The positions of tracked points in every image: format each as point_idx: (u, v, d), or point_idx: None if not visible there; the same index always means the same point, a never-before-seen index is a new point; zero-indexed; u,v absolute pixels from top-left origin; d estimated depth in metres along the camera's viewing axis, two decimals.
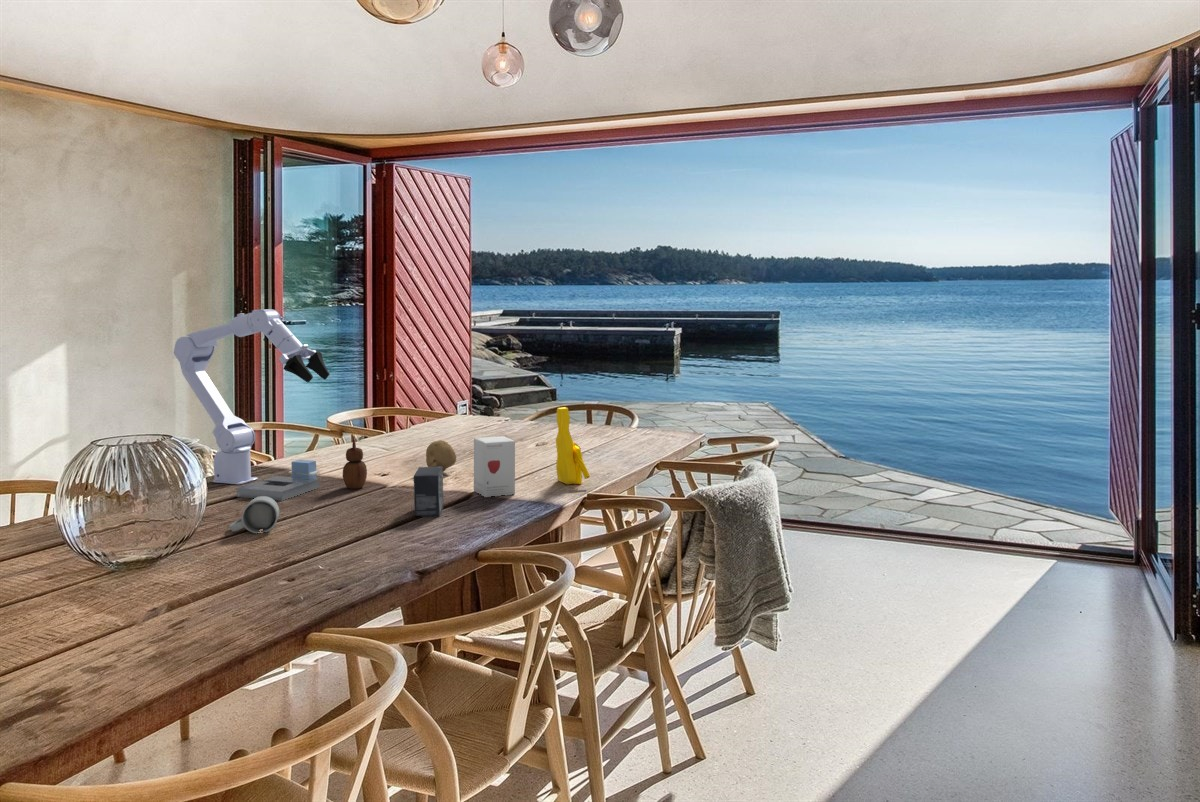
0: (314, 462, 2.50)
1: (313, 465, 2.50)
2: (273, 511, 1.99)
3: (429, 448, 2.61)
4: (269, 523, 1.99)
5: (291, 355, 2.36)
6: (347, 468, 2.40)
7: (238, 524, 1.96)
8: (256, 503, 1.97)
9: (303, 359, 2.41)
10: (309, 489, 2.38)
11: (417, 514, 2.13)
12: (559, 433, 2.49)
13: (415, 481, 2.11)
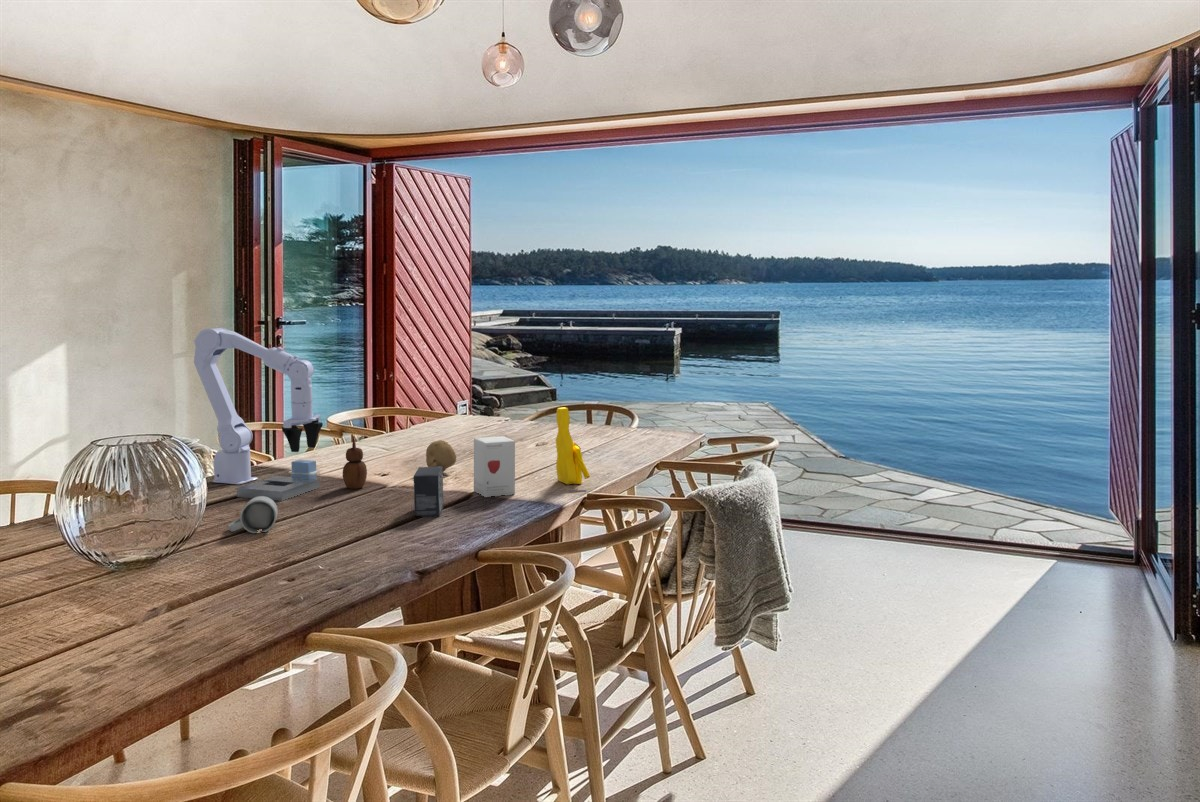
0: (314, 462, 2.50)
1: (313, 465, 2.50)
2: (272, 511, 1.99)
3: (429, 448, 2.61)
4: (268, 523, 1.98)
5: (296, 422, 2.44)
6: (347, 468, 2.40)
7: (236, 524, 1.96)
8: (255, 503, 1.97)
9: (304, 423, 2.50)
10: (309, 489, 2.38)
11: (417, 514, 2.13)
12: (559, 433, 2.49)
13: (415, 481, 2.11)
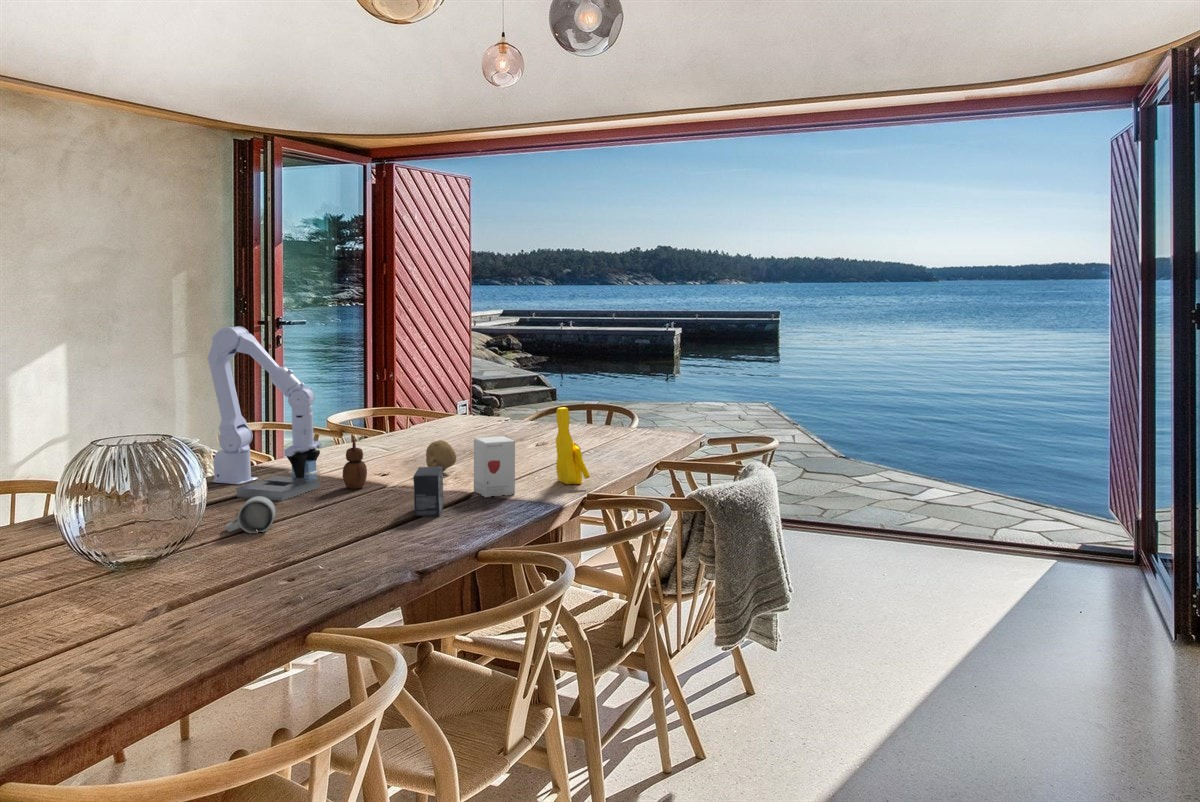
0: (314, 462, 2.50)
1: (313, 465, 2.50)
2: (269, 511, 1.99)
3: (429, 448, 2.61)
4: (265, 523, 1.98)
5: (297, 450, 2.45)
6: (347, 468, 2.40)
7: (234, 524, 1.96)
8: (252, 503, 1.97)
9: (305, 450, 2.51)
10: (309, 489, 2.38)
11: (417, 514, 2.13)
12: (559, 433, 2.49)
13: (415, 481, 2.11)
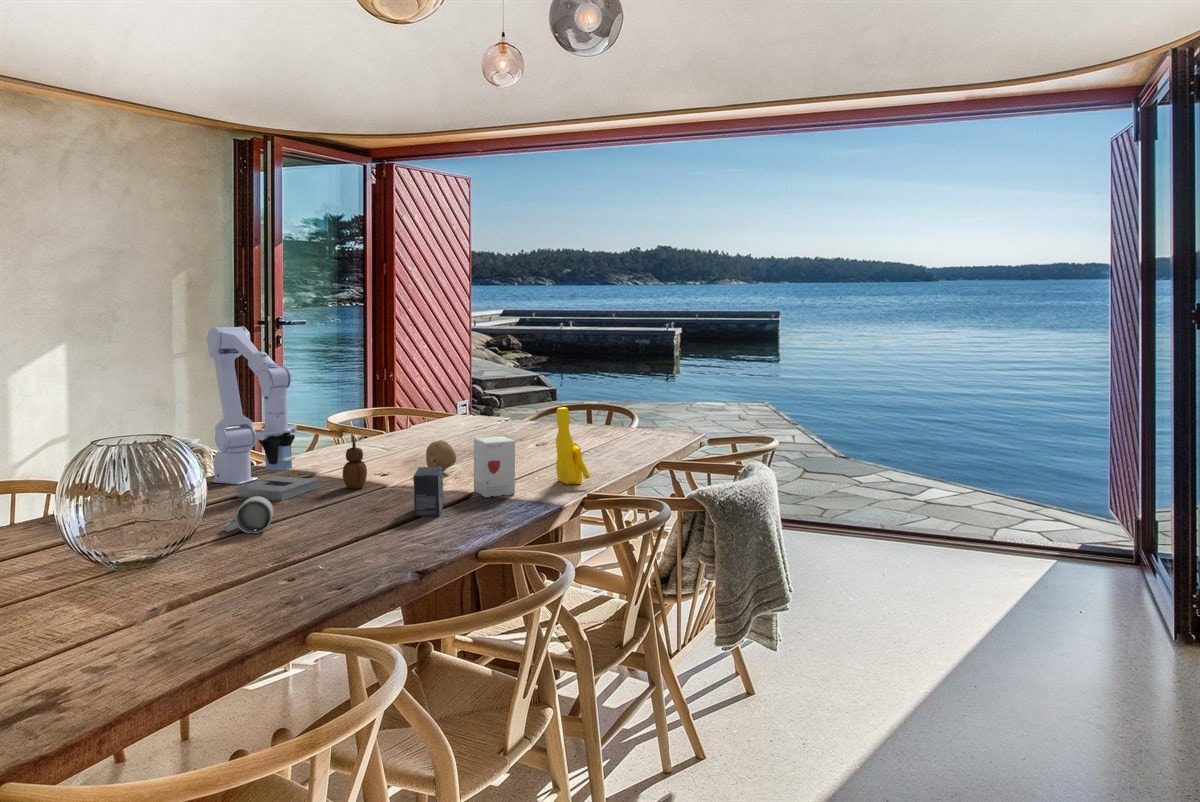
0: (289, 447, 2.35)
1: (288, 450, 2.35)
2: (267, 511, 1.99)
3: (429, 448, 2.61)
4: (263, 523, 1.98)
5: None
6: (347, 468, 2.40)
7: (232, 524, 1.96)
8: (250, 503, 1.97)
9: None
10: (309, 489, 2.38)
11: (417, 514, 2.13)
12: (559, 433, 2.49)
13: (415, 481, 2.11)
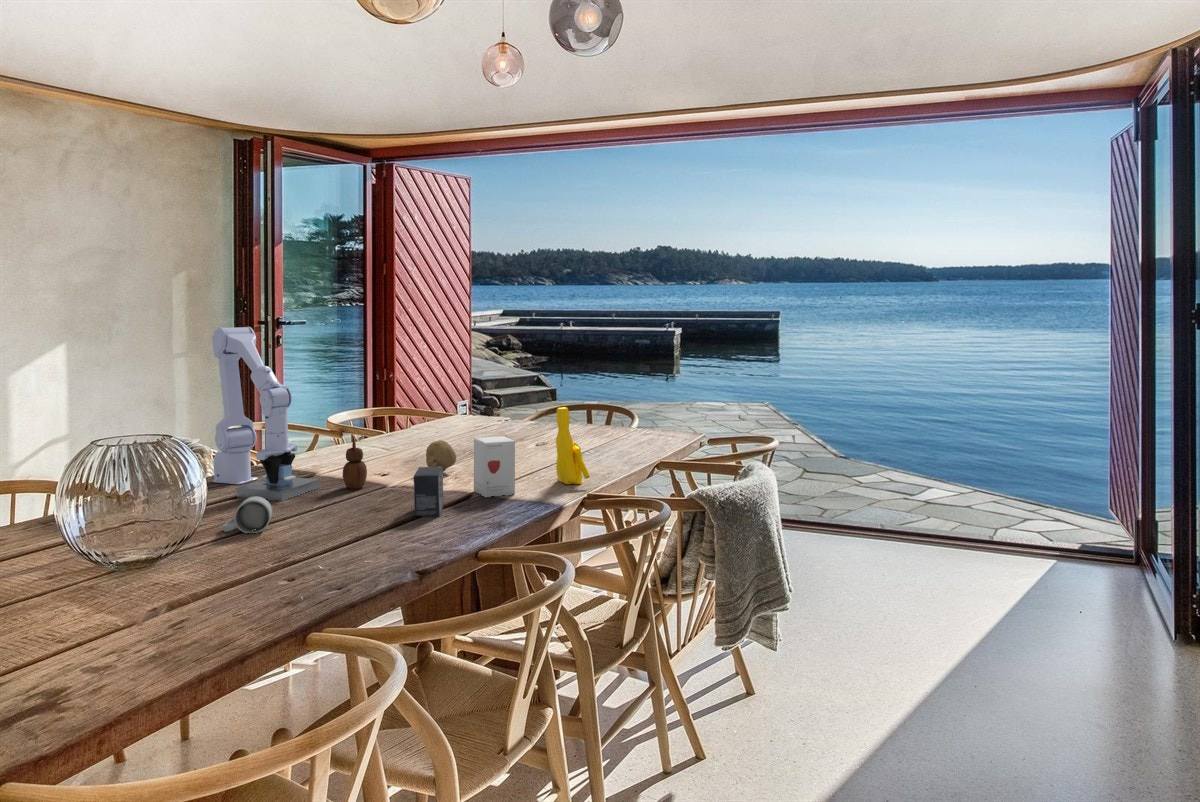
0: (290, 466, 2.36)
1: (289, 470, 2.36)
2: (266, 511, 1.99)
3: (429, 448, 2.61)
4: (262, 523, 1.98)
5: (270, 453, 2.31)
6: (347, 468, 2.40)
7: (231, 524, 1.96)
8: (249, 503, 1.97)
9: None
10: (309, 489, 2.38)
11: (417, 514, 2.13)
12: (559, 433, 2.49)
13: (415, 481, 2.11)
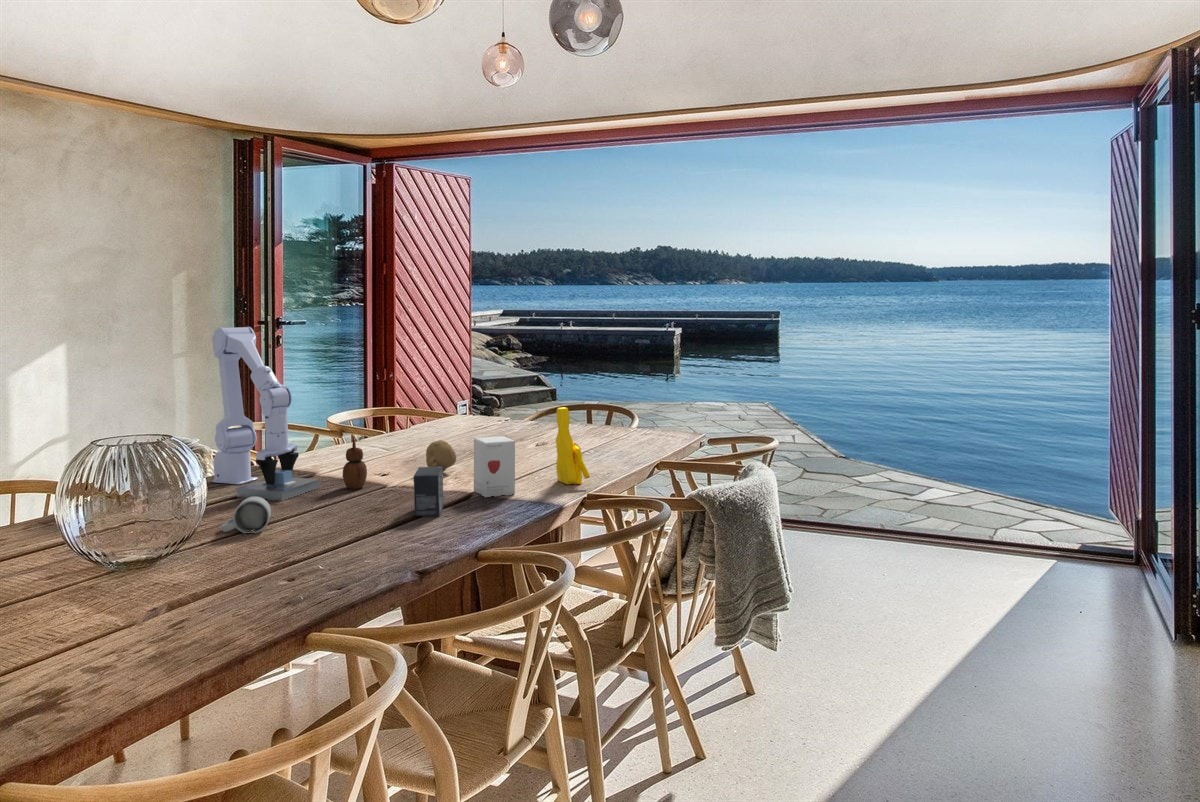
0: (290, 472, 2.36)
1: (289, 475, 2.36)
2: (265, 511, 1.99)
3: (429, 448, 2.61)
4: (261, 523, 1.98)
5: (270, 453, 2.31)
6: (347, 468, 2.40)
7: (230, 524, 1.96)
8: (248, 503, 1.97)
9: None
10: (309, 489, 2.38)
11: (417, 514, 2.13)
12: (559, 433, 2.49)
13: (415, 481, 2.11)
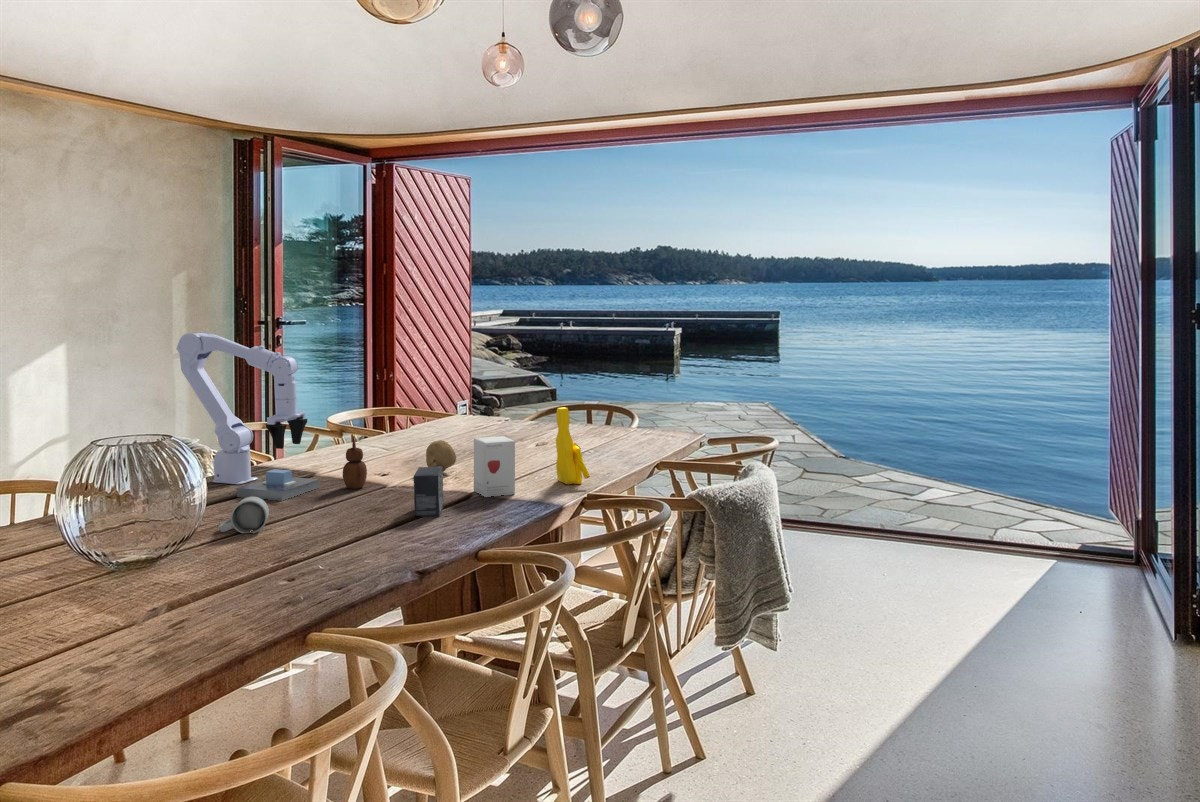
0: (290, 472, 2.36)
1: (289, 475, 2.36)
2: (262, 511, 1.98)
3: (429, 448, 2.61)
4: (258, 524, 1.98)
5: (280, 419, 2.43)
6: (347, 468, 2.40)
7: (227, 525, 1.96)
8: (245, 503, 1.97)
9: (288, 420, 2.49)
10: (309, 489, 2.38)
11: (417, 514, 2.13)
12: (559, 433, 2.49)
13: (415, 481, 2.11)
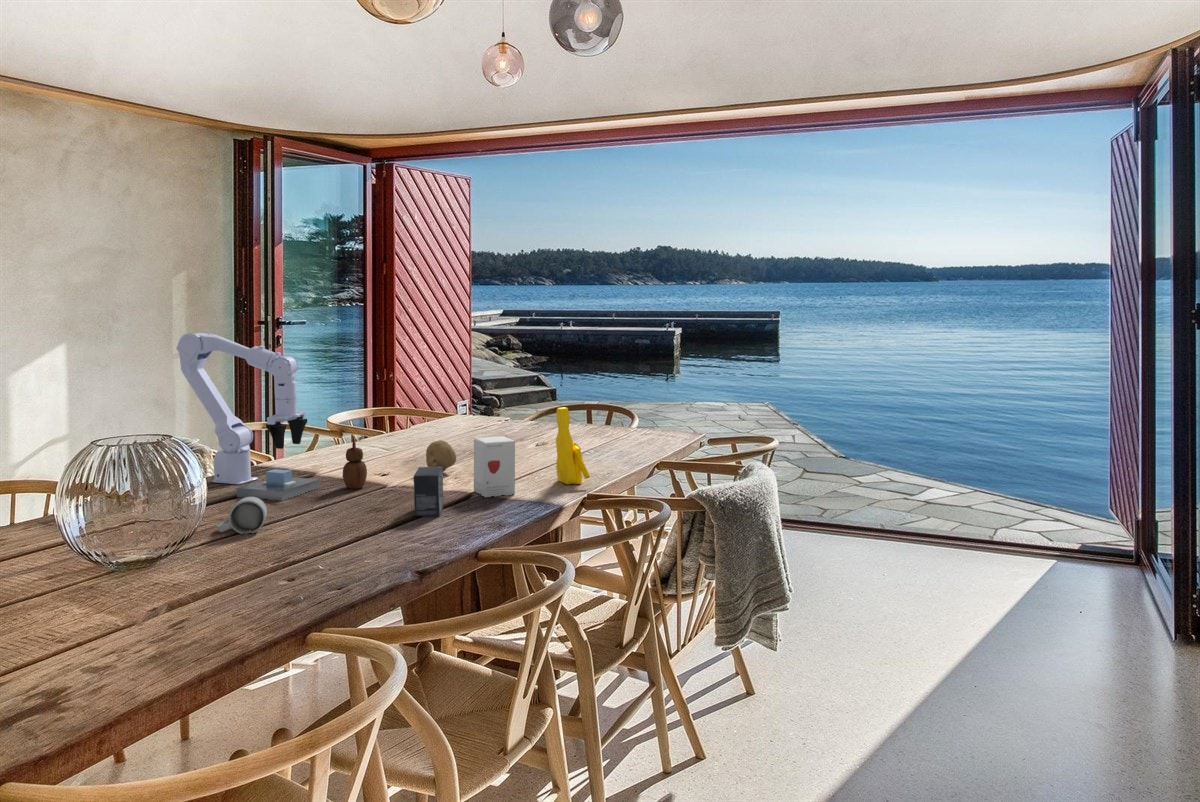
0: (290, 472, 2.36)
1: (289, 475, 2.36)
2: (261, 512, 1.98)
3: (429, 448, 2.61)
4: (257, 524, 1.98)
5: (280, 419, 2.43)
6: (347, 468, 2.40)
7: (225, 525, 1.96)
8: (243, 504, 1.97)
9: (288, 420, 2.49)
10: (309, 489, 2.38)
11: (417, 514, 2.13)
12: (559, 433, 2.49)
13: (415, 481, 2.11)
